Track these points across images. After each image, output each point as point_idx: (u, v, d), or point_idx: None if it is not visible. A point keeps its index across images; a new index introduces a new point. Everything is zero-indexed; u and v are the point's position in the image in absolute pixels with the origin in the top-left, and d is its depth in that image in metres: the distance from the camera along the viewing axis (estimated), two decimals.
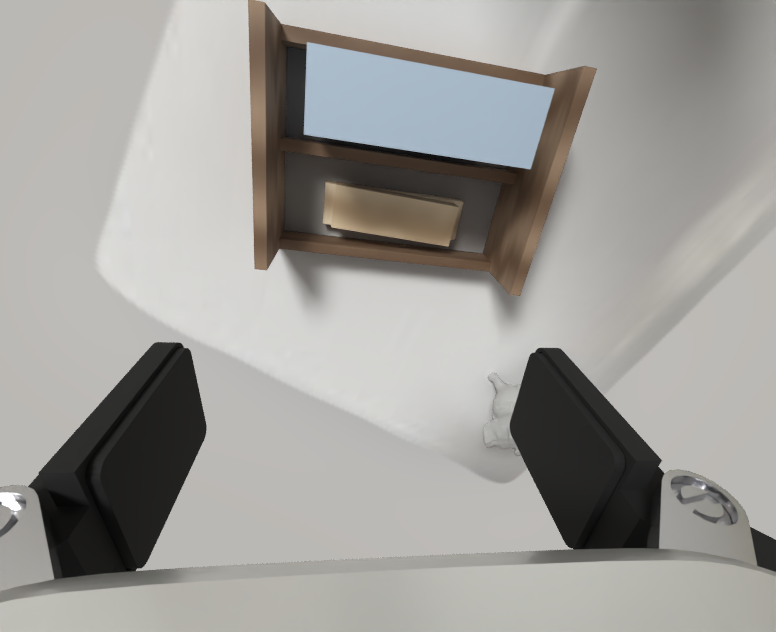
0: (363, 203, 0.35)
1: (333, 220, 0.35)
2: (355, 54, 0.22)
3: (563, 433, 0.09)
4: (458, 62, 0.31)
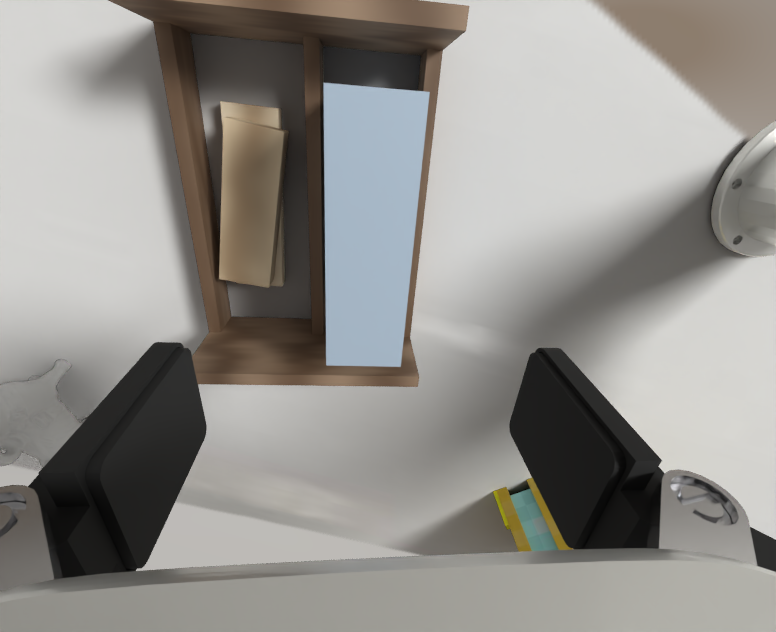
0: (262, 169, 0.27)
1: (233, 122, 0.25)
2: (419, 157, 0.19)
3: (563, 433, 0.09)
4: (415, 258, 0.31)
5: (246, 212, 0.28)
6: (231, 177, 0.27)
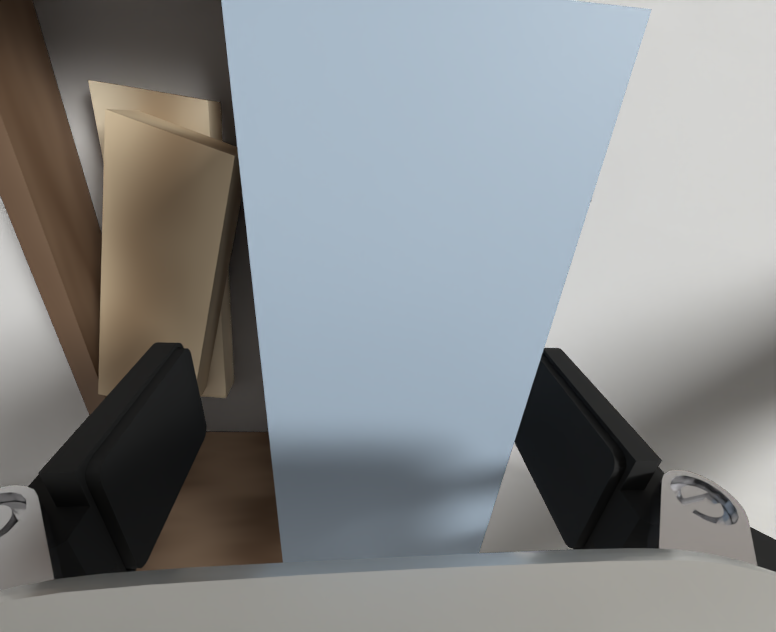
0: (186, 220, 0.13)
1: (128, 123, 0.12)
2: (566, 245, 0.06)
3: (563, 433, 0.09)
4: None
5: (152, 293, 0.15)
6: (122, 228, 0.13)
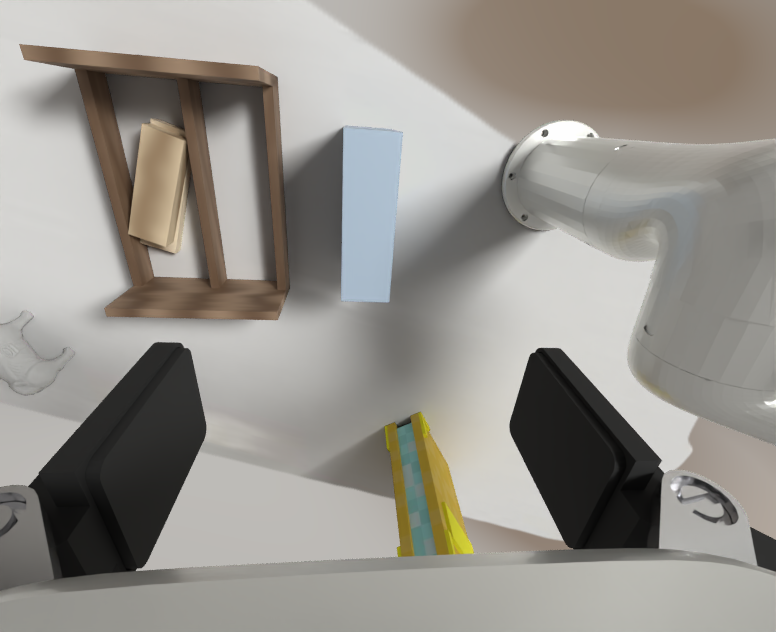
0: (167, 162, 0.38)
1: (149, 128, 0.37)
2: (398, 168, 0.33)
3: (563, 433, 0.09)
4: (279, 230, 0.43)
5: (153, 190, 0.40)
6: (144, 164, 0.38)
